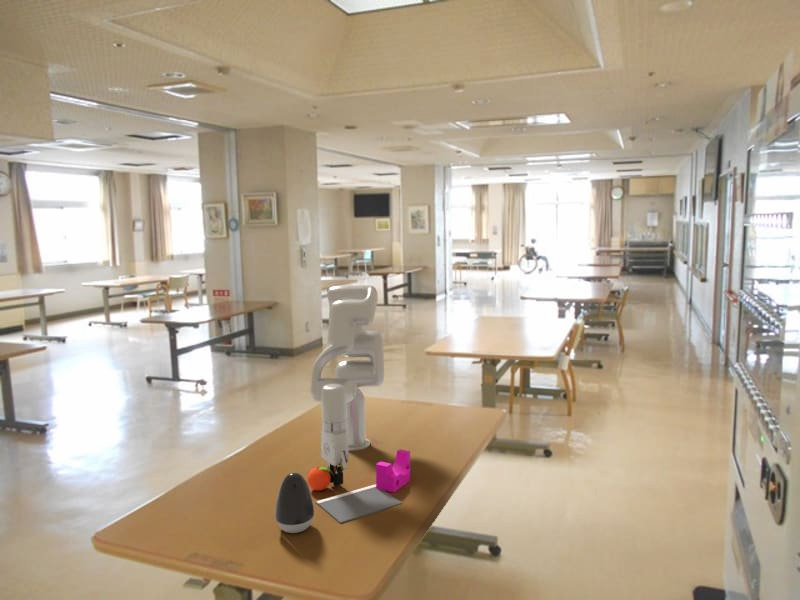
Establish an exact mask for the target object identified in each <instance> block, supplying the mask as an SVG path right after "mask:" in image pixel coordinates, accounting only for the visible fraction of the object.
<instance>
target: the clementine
mask: <svg viewBox="0 0 800 600" xmlns="http://www.w3.org/2000/svg"><path fill="white" fill-rule="evenodd" d="M329 471H330V470H329V469H328V467H324V466H315V467H314V468H312V469H311V470H310V471H309V472H308V476H307V484H308V486H309V487H310V488H311V489H313V490H314V491H318V492H320V491H324V490H325V489H327V487H328V486H330V484H331V483H330V480H331V476H330V473H329ZM330 472H331V471H330ZM331 473H332V472H331ZM332 474H333V473H332ZM333 476H334V475H333Z"/></svg>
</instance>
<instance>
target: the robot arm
mask: <svg viewBox="0 0 800 600" xmlns="http://www.w3.org/2000/svg"><path fill="white" fill-rule="evenodd" d="M326 297H327V301H328V303H329V305H330V306H329V313H328V314H329V315H328V329H327V344H326V347H325V348H324V349H323V350H322V351H321V352H320V353H319V355H318V356H317V357H316V359H315V361H314V363H313V365H312V367H311V376H310V377H311V378H310V388H309V389H310V397H311V399H312V400H313V401H315V402H317V403H320V404H321V425H322V426H321V427H322V428H321V436H320V439H321V440H320V456H321V459H323V460H324V461H326V462H327V469H329V470H330V471H331V472H332V473H333V474H332V473H331V472H330V471H329V473H330V476H331V480H330V484H332V486H334V487H337V486H340V485H343V484H344V472H345V470H347V469H348V465H347V464H348V462H349V452H350V451H351V452H355V451H362V450H364V449H367V448H369V446H371V440H370V438H367V435H366V434H367V433H366V399H365V395H364V392H362V390H361V389H360V388H365V387H366V388H369V387H370V388H375V387H376V388H377V387H380V386H382V385H383V383H384V379H385V359H384V356H385V355H384V354H385V353H384V340H383V336H382V334H381V333H380V332H379V331H377V330H363V326H369V325H371V324H372V323H373V321H374V319H375V315H376V310H377V306H378V300H379V295H378V291H377V288H376V287H375V286H373V285H368V284H367V285H366V284H364V285H363V284H360V285H358V284H357V285H354V284H352V285H351V284H350V285H349V284H347V285H346V284H343V285H334V286H331V287H329V288H328V290H327V296H326ZM339 356H343V357H346V358H368V359H366V360H365V359H364V360H363V359H362V360H361V359H357V360H356V359H349V360H347V359H346V360H342V361H340V362H339V363H338V364H336V367H335V371H334V373H335V377H322V372H323V369H324V368H325V366H326V365H327V364H328V363H329V362H330V361H332V360H333V359H335V358H337V357H339ZM333 475H334V476H333Z"/></svg>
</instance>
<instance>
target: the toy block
mask: <svg viewBox="0 0 800 600" xmlns="http://www.w3.org/2000/svg"><path fill="white" fill-rule="evenodd" d="M375 465H376V466H375V468H376V469H375V473H376V475H375V481H376V482H375V484H376V488H377V489H381V490H384V491H386V492H389V493H396V492H397V491H398V490H400V489H401V488H402V487H403V486H405V485H406V484H407V483H408V482H410V480H411V451H410V450H407V449H398V450H396V456H395V459H394V462H393V464H392V463H390V462H384V461H379V462H377V463H376V464H375Z"/></svg>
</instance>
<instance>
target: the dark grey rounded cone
mask: <svg viewBox="0 0 800 600" xmlns="http://www.w3.org/2000/svg"><path fill="white" fill-rule="evenodd" d="M309 487H310V486H309V484H308V482H307V481H306V479H305V478H304V477H303V475H302V474H301V473H299V472H296V471H295V472H290V473H287V474H286V475H285V476H284V478H283V480H282V481H281V483H280V486H279V489H278V492H277V496H276V502H275V508H274V518H275V521H276V523H277V525H278V527H279V528H280V530H282V531H283V532H285V533H289V534H298V533H301V532H303V531H306V530H307V529H308V528H309V527H310V525H311V523H312V521H313V518H314V516H315V506H314V502H313V497H312V494H311V491H310V488H309Z"/></svg>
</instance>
